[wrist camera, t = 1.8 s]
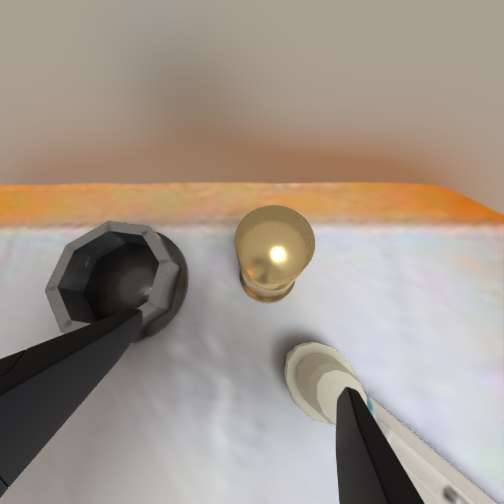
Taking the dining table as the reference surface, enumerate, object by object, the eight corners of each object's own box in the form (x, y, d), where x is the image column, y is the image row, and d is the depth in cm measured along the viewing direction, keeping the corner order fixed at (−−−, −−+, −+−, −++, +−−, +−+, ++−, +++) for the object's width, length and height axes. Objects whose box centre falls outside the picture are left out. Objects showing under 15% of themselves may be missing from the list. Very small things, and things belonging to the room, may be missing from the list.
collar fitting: (101, 372, 20) (68, 381, 16) (58, 272, 23) (22, 262, 20) (209, 295, 22) (200, 288, 18) (156, 214, 25) (139, 195, 22)
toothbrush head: (684, 784, 10) (284, 405, 13) (509, 598, 17) (267, 372, 19) (701, 656, 11) (333, 334, 14) (532, 530, 18) (302, 325, 20)
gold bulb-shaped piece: (262, 314, 21) (266, 304, 12) (230, 271, 23) (212, 232, 14) (304, 281, 22) (339, 248, 13) (271, 242, 24) (281, 187, 15)
